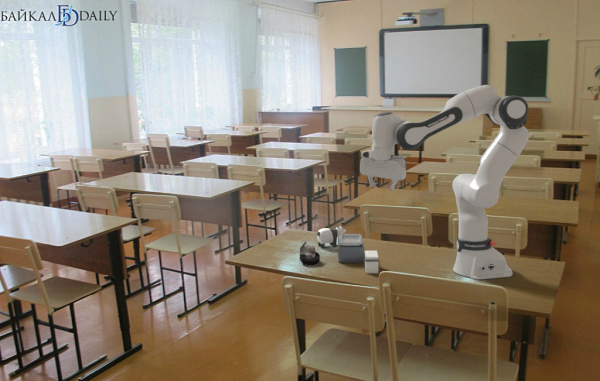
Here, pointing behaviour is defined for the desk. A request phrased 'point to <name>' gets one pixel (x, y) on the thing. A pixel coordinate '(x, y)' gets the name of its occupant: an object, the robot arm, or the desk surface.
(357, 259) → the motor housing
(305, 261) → the black based translucent ornament
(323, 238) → the giant panda
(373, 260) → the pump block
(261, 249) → the desk surface
